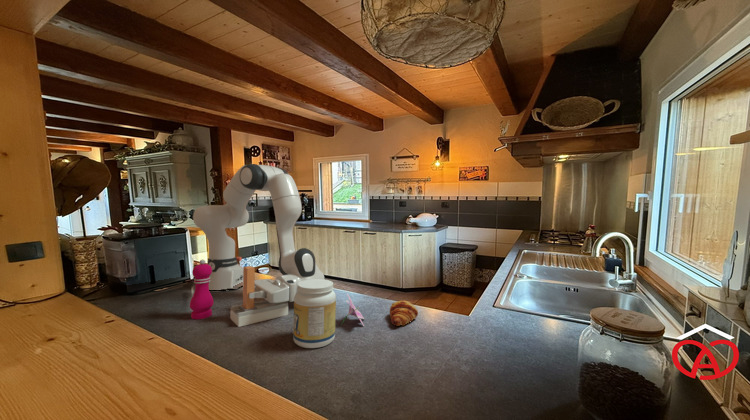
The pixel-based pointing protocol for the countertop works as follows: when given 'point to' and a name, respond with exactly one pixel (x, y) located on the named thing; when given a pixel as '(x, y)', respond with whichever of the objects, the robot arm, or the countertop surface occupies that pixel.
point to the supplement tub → (314, 313)
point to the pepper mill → (201, 292)
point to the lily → (353, 311)
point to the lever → (248, 288)
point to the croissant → (402, 312)
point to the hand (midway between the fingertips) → (245, 293)
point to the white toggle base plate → (258, 312)
